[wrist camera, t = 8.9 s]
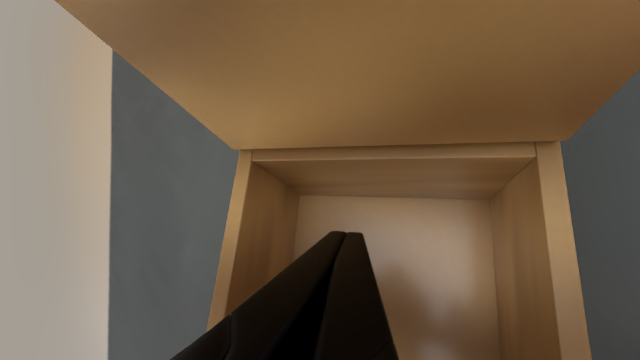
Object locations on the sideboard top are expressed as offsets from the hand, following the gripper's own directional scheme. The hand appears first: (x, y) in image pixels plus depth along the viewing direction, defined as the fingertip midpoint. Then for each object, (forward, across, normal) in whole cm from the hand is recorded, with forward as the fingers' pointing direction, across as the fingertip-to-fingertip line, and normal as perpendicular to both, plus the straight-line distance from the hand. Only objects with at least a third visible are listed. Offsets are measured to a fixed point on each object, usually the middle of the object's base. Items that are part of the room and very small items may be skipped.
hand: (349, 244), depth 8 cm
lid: (0, 0, -7) cm, 7 cm away
